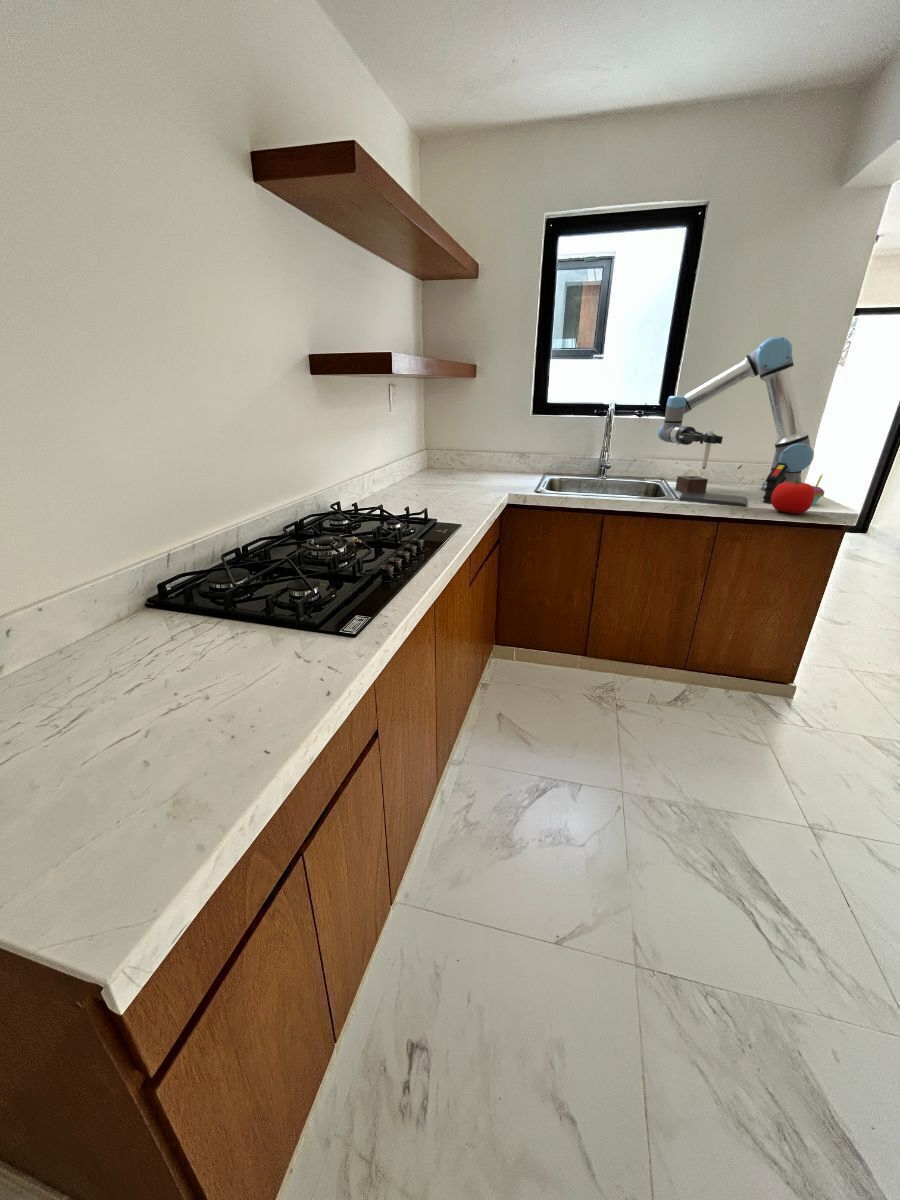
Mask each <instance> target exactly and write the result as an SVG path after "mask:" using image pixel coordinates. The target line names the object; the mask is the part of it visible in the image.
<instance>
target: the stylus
mask: <svg viewBox="0 0 900 1200" xmlns="http://www.w3.org/2000/svg"><path fill="white" fill-rule="evenodd" d="M707 433H708V435H709V436H713V433H714V429H713V430H712V429H708V431H707ZM711 447H712V443H706V442H705V448H704V453H703V458H702V463H701V467H702V470H706V467H707V466H708V461H709V456H710V451H711Z"/></svg>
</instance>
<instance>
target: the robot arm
mask: <svg viewBox="0 0 900 1200" xmlns="http://www.w3.org/2000/svg"><path fill="white" fill-rule="evenodd" d="M792 353H793V345H792V343H791V341H790V340H789V339H788V338H786V337H784V336H780V335H779V336H772V337H769V338H767V339H765V340H764V341H763V342H762V343H760V344H759V346H758V347H757V348H756V349H754V350H753V351H752V352H750V353H749V354H747V355H745V356H744V357H743V359H742V360H741V361H740V362H738V363H736V364H735V365H733V366H731V367H730V368H727V369H726V370H724V371H723V372H721V373H719V374H717V375H716V376H714V377H713V378H710V379H709V380H708V381H706V382H704V383H702V384H701V385H699V386H697V387H696V388H694V389H693V390H690V391H689V392H687V393H686V394H683V395H670V396H668V398H667V402H666V407H665V414H664V421H663V424H662V425H661V426H660V427H659V429H658V430H657V436H658V438H659V440H661V441H663V442H666V443H673V444H676V445H677V446H679V445H684V446H688V445H692V444H693V443H694V442H696V443H698V442H699V444H700V445H703V444H704V443H705V444H706V443H711V445H712V444H713V445H714V444H715V445H716V444H722V443H723V438H724V437H723V436H722V435H718V434H715V433H714V432H713V436H709V435H708V432H706V433H704V432H699V431H698V430H696V429H695V427H693V426H690V425H682V424H683V419H684V415H685V414H688V413H689V412H691V411H692V410H694V409H696V408H698V407H700V406H701V405H703V404H705V403H706V402H708V401H710V400H712V399H714V398H715V397H717V396H718V395H721V394H722V393H725V392H726V391H727V390H730V389H731V388H733V387H735V386H737V385H739V383H742V382H743V381H745V380H747V379H749V378H751V377H752V378H756V377H757V376H759V379H760V380H762V381H764V382H765V385H766V390H767V395H768V399H769V404H770V407H771V413H772V417H773V423H774V427H775V432H776V436H777V439H776V441H775V442H774V449H775V452H774V455H773V460H772V463H771V468H770V471H769V474H770V473H771V472H772V470H773V469H774V468H775V466H776V465H777V464H778V463H787V466H788V468H787V469H786V474H785V477H786V480H785V481H784V482H791V481H792V482H795V481H797V482H800V483H802V471H803V470H805V469H806V468H808V467H810V465H811V464H812V462H813V461H814V456H815V454H814V453H815V452H814V449H813V448H812V446H811V442H810V437H809V433H808V432H805V431H804V430H803V427H802V421H801V417H800V412H799V406H798V402H797V397H796V392H795V388H794V383H793V378H792V373H791V372H792V370H793V369H794V367H795V365H794V359H793V354H792ZM769 474H768V475H769ZM767 478H768V476H767V477H766V478H765V480H764V481H763V482H762V485H761V490H763V491H765V492H766V490H765V488H766V487H767V482H766V479H767Z"/></svg>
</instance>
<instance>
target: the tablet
mask: <svg viewBox="0 0 900 1200" xmlns="http://www.w3.org/2000/svg"><path fill="white" fill-rule="evenodd" d="M679 501H682V502H692V503H702V504H703V503H704V504H713V505H723V506H724V505H725V506H734V507H747V496H744V495H732V494H731V495H730V494H723V493H721V494H720V493H719V494H718V493H709V492H705V493H699V492H687V491H684V492H682V494H681V496H680V497H679Z"/></svg>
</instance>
